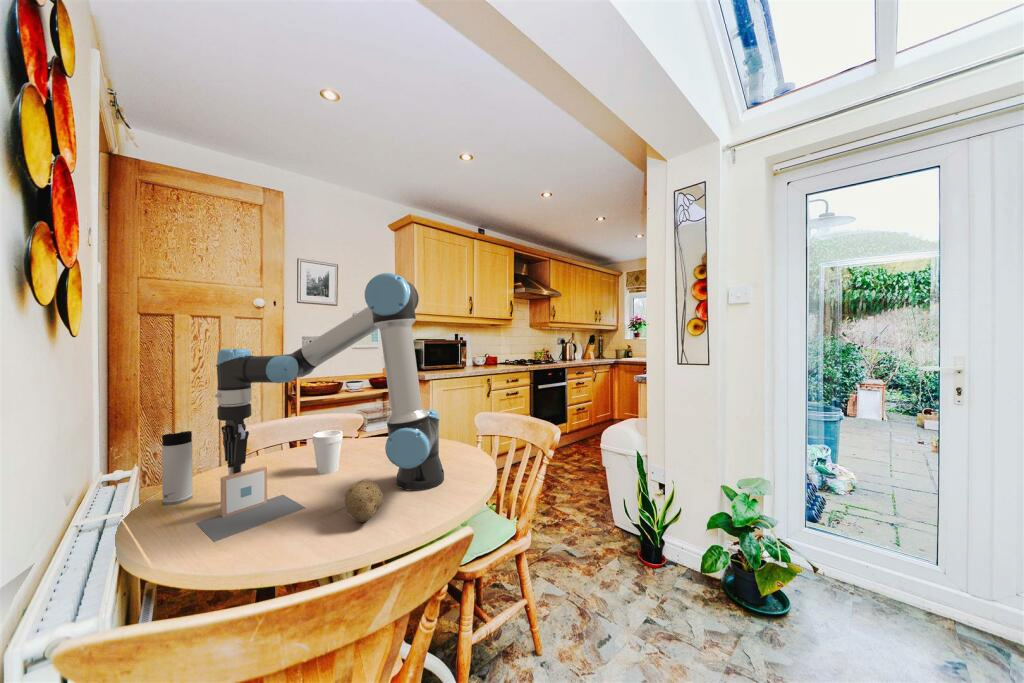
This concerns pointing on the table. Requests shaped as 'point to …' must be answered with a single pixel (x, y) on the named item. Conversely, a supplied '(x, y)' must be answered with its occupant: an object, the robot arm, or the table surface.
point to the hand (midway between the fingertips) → (235, 488)
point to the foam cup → (327, 450)
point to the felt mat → (248, 518)
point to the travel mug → (177, 468)
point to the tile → (243, 491)
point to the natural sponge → (363, 500)
